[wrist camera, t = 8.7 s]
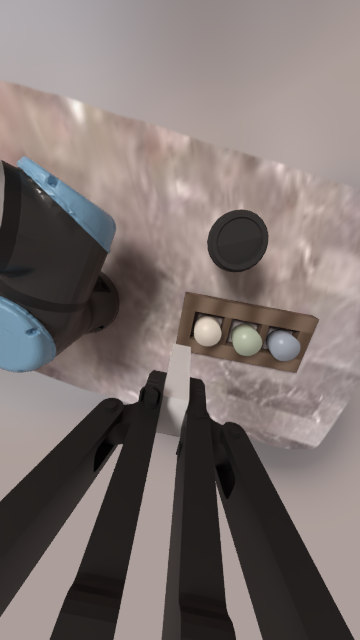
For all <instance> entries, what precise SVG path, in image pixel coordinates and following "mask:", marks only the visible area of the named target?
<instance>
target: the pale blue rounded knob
mask: <svg viewBox="0 0 360 640" xmlns="http://www.w3.org/2000/svg"><path fill="white" fill-rule="evenodd" d="M266 346H267V347H268V349H269V350H270V352H271V353H272V355H273V356H274V357H275V358H276V359H278V360H280V361H289V360H292V359H294V358H295V357H296V356H297V355H298V354H299V352H300V343H299V342H298V340H297V339H296V338H294V337H293V336H292V335H291V334H290V333H289V332H288V331H286V330H283V329H277V330H274V331H272V332H271V333H269V334H268V336H267V338H266Z"/></svg>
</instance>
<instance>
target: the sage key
mask: <svg viewBox="0 0 360 640" xmlns="http://www.w3.org/2000/svg"><path fill="white" fill-rule="evenodd" d="M231 340H232V343H233V346H234V348H235V350H236V352H237V353H239V354H240V355H243V356H251V355H254V354H256V353H257V352H258V351H259V350H260V349H261V347H262V339H261V337H260V335H259V334H258V332H257V331H256V330H255V328H254V327H253V326H251V325H249V324H240V325H237V326H236V327H235V328H234V329H233V330H232V332H231Z"/></svg>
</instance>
